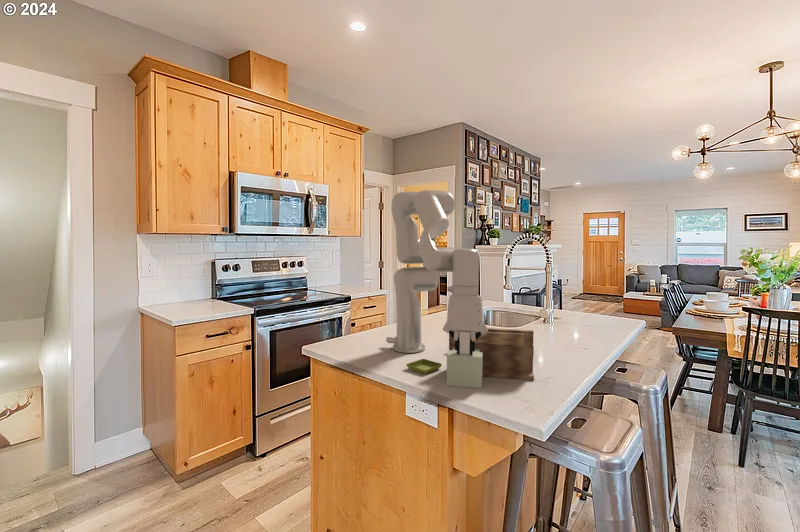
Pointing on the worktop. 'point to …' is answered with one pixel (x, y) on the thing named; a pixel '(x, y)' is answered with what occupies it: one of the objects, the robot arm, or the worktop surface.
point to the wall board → (505, 353)
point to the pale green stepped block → (464, 365)
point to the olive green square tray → (424, 366)
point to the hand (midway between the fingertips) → (464, 352)
